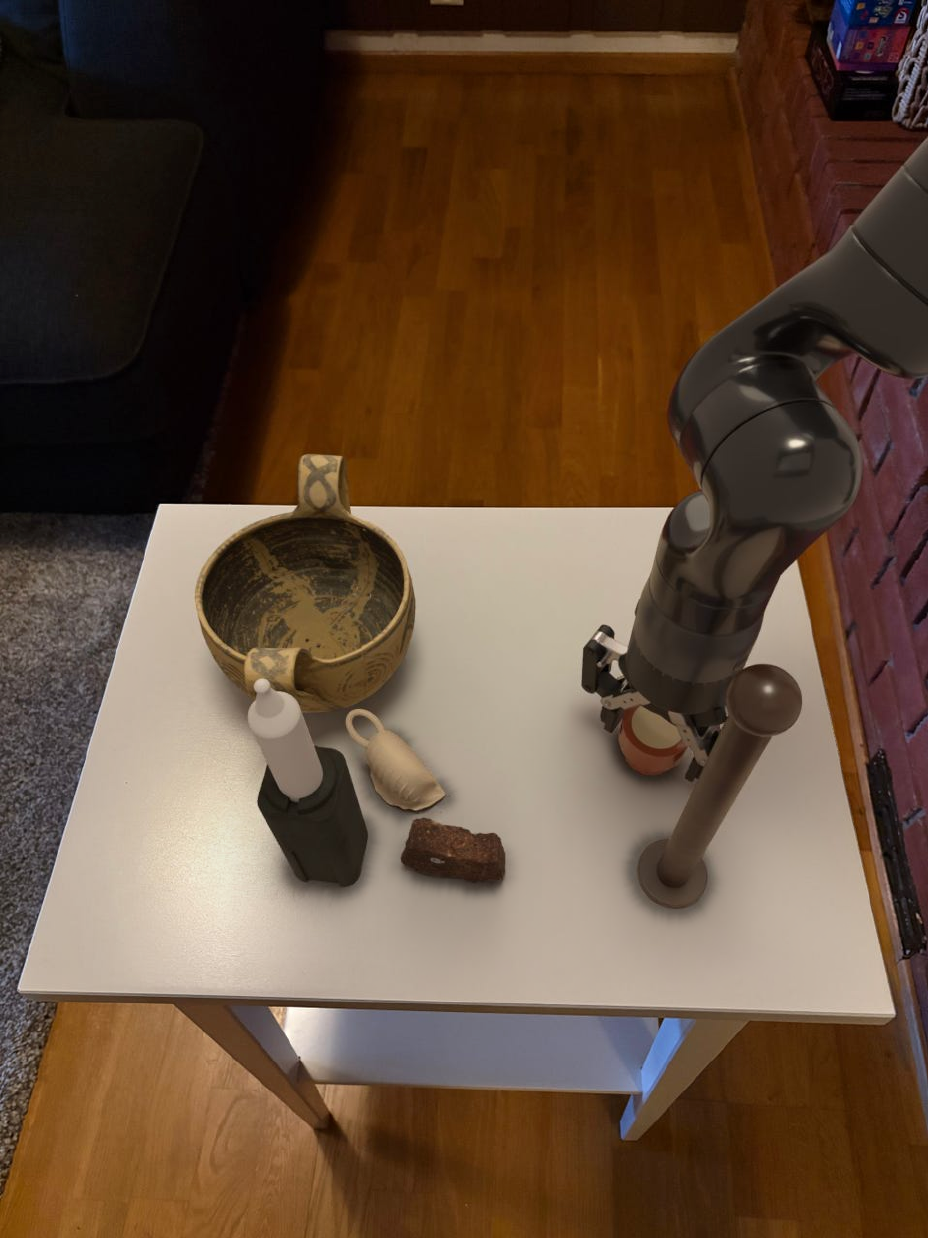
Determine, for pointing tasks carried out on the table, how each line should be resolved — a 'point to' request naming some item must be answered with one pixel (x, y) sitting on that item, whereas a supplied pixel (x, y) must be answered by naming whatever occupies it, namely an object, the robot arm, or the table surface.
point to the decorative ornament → (396, 767)
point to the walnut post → (720, 782)
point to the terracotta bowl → (650, 741)
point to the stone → (453, 852)
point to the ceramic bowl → (309, 598)
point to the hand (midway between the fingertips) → (652, 747)
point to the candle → (306, 793)
